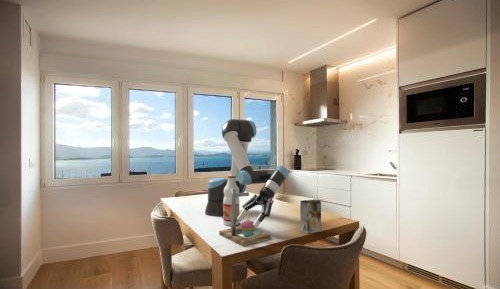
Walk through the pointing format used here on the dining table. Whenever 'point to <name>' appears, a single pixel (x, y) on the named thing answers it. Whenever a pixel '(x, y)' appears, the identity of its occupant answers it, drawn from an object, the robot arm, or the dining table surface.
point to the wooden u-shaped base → (241, 240)
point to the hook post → (235, 208)
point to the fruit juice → (230, 201)
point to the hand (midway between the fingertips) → (246, 223)
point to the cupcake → (247, 227)
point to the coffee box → (310, 216)
